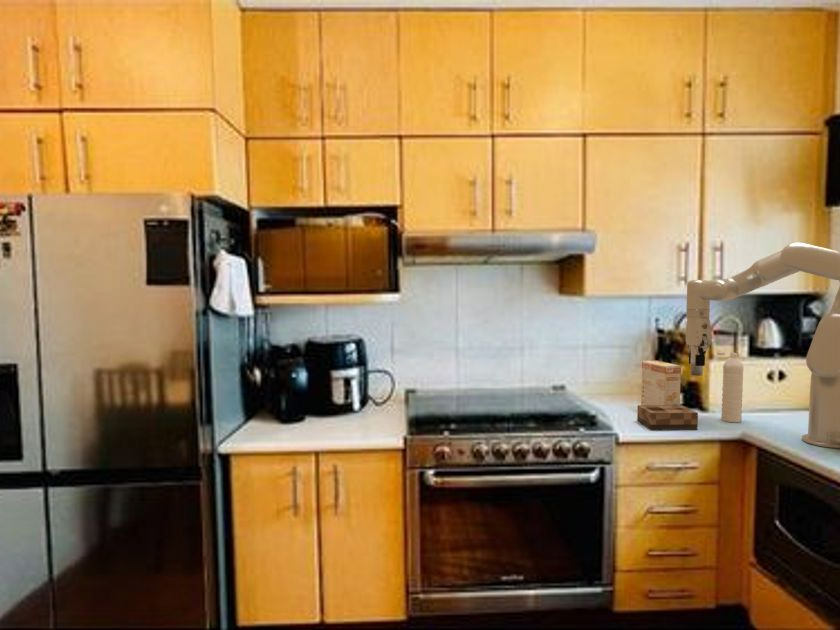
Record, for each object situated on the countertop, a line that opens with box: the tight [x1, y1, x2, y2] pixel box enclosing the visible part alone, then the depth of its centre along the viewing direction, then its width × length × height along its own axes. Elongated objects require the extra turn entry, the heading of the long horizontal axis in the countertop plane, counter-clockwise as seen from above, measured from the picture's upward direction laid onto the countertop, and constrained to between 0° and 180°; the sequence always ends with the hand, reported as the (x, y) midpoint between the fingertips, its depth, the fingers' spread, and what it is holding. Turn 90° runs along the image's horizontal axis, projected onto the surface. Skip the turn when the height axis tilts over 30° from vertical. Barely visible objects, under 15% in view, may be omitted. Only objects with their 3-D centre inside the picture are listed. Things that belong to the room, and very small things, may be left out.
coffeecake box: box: [640, 360, 682, 405], centre depth 222 cm, size 15×7×20 cm, turn 12°
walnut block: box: [636, 404, 699, 431], centre depth 203 cm, size 12×16×6 cm
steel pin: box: [689, 344, 704, 377], centre depth 208 cm, size 4×4×12 cm
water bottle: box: [716, 351, 744, 423], centre depth 210 cm, size 9×6×25 cm
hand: (696, 364), depth 208 cm, fingers closed on steel pin, 4 cm apart
